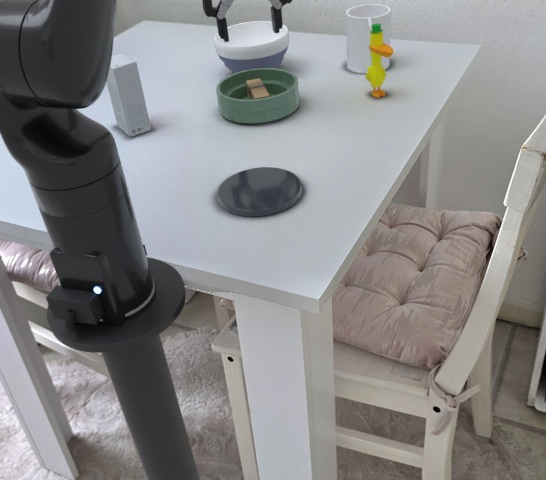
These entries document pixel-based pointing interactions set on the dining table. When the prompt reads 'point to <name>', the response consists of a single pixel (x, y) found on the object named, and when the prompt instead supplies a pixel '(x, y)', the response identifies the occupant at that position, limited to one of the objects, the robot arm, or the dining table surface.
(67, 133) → the robot arm
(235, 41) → the bowl
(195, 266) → the dining table surface
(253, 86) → the clip
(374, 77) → the toy figure
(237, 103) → the green bowl
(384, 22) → the cup
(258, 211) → the plate
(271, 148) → the dining table surface
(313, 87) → the dining table surface
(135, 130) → the cosmetic box
